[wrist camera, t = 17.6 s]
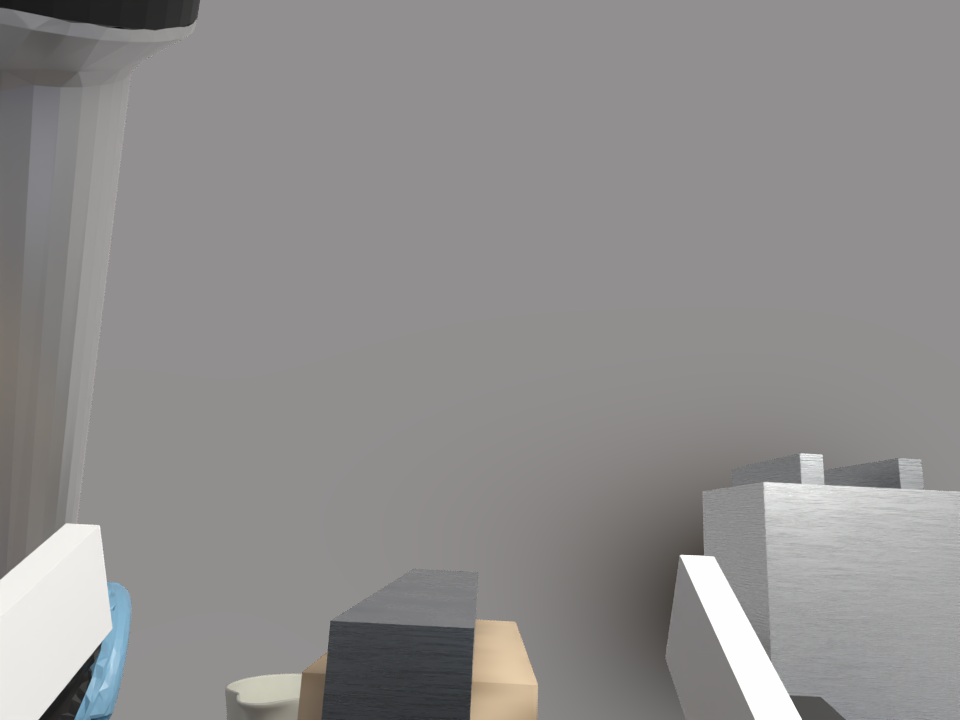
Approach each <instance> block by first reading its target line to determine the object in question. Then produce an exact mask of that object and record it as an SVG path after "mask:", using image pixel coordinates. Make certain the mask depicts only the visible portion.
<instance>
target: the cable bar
mask: <svg viewBox="0 0 960 720" xmlns="http://www.w3.org/2000/svg"><path fill="white" fill-rule="evenodd" d="M477 591H478V572H461V571H443V570H423V569H412V570H411V571H409V572H408V573H406V574H405V575H403V576H402V577H400V578H398V579H396V580H395V581H393V582H392V583H390V584H388V585H387V586H385V587H384V588H382V589H381V590H379V591H377V592H376V593H374V594H373V595H371V596H369V597H368V598H366V599H365V600H363V601H361V602H360V603H358V604H357V605H355V606H353V607H352V608H350V609H349V610H347V611H345V612H344V613H342V614H341V615H339V616H337V617H336V618H334V619H333V620H331V622H330V633H329V644H328V654H327V665H326V675H325V686H324V697H323V707H322V718H321V720H470V714H471V698H472V681H473V664H474V648H475V631H476V612H477Z"/></svg>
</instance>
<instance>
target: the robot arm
mask: <svg viewBox="0 0 960 720" xmlns="http://www.w3.org/2000/svg"><path fill="white" fill-rule="evenodd" d="M199 3H200V0H0V720H109V719H110V717H111V715H112V713H113V709H114V706H115V703H116V700H117V697H118V693H119V689H120V684H121V679H122V674H123V670H124V664H125V659H126V653H127V647H128V640H129V633H130V622H131V598H130V594H129V592H128V591H127V590H126V589H125V588H124V587H123V586H122V585H121V584H118V583H112V582H108V581H107V580H106V572H105V564H104V556H103V549H102V540H101V532H100V525H86V524H77V519H78V511H79V504H80V495H81V487H82V479H83V470H84V462H85V453H86V445H87V436H88V428H89V420H90V412H91V404H92V395H93V387H94V378H95V370H96V362H97V354H98V345H99V336H100V328H101V320H102V312H103V304H104V294H105V287H106V279H107V270H108V262H109V254H110V245H111V237H112V229H113V220H114V211H115V204H116V194H117V187H118V178H119V170H120V162H121V161H120V160H121V153H122V145H123V136H124V129H125V120H126V112H127V103H128V95H129V87H130V78H131V74H132V72H133V70H134V69H135V68H136V67H137V66H138V65H139V64H140V63H141V62H142V61H143V60H145V59H147V58H149V57H151V56H152V55H154V54H156V53H158V52H160V51H161V50H163V49H165V48H167V47H169V46H170V45H172V44H174V43H176V42H178V41H180V40H181V39H183V38H185V37H187V36H189V35H191V33H192V32H193V31H194V29H195V27H196V22H197V15H198V10H199ZM665 658H666V661H667V664H668V667H669V670H670V673H671V676H672V679H673V682H674V685H675V688H676V691H677V694H678V697H679V700H680V702H681V706H682V709H683V712H684V715H685V718H686V720H846V719H845V718H844V717H842V716H841V715H840V714H839V713H838V712H837V711H836V710H835V709H834V708H833V707H831V706H830V705H829V704H828V703H827V702H826V701H825V700H824V699H823V698H822V697H813V696H794V695H788V693H787V691H786V689H785V687H784V685H783V683H782V682H781V680H780V678H779V676H778V674H777V672H776V670H775V669H774V667H773V665H772V663H771V661H770V659H769V658H768V656H767V654H766V652H765V650H764V648H763V646H762V645H761V643H760V641H759V639H758V637H757V635H756V633H755V632H754V630H753V628H752V626H751V624H750V622H749V620H748V619H747V617H746V615H745V613H744V611H743V609H742V607H741V606H740V604H739V602H738V600H737V598H736V596H735V594H734V593H733V591H732V589H731V587H730V585H729V583H728V581H727V580H726V578H725V576H724V574H723V572H722V570H721V569H720V567H719V565H718V563H717V561H716V559H715V557H712V556H692V555H680V558H679V565H678V572H677V579H676V587H675V594H674V601H673V607H672V614H671V622H670V629H669V636H668V643H667V650H666V657H665Z"/></svg>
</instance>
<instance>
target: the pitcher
mask: <svg viewBox="0 0 960 720" xmlns="http://www.w3.org/2000/svg"><path fill="white" fill-rule="evenodd" d="M301 678H302V674H273V675H262V676H255V677H249V678H245V679H241V680H237V681H234V682H232V683H230V684H228V685H227V686H226V705H227V720H297V718H298V708H299V698H300V688H301Z"/></svg>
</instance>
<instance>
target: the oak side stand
mask: <svg viewBox="0 0 960 720" xmlns="http://www.w3.org/2000/svg"><path fill="white" fill-rule="evenodd" d="M327 654H328V652H327V653H325V654H324V655H323V656H322V657H320V658H319V659H318V660H317V661H316V662H314V663H313V664H312V665H311V666H309V667H308V668H307V669H306V670H304V671H303V672H302V678H301V688H300V698H299V708H298V718H297V720H321V718H322V707H323V697H324V686H325V675H326V665H327ZM537 703H538V684H537V681H536V678H535V675H534V673H533V670H532V667H531V664H530V661H529V659H528V656H527V653H526V650H525V647H524V644H523V642H522V639H521V636H520V633H519V630H518V627H517V625H516V622H510V621H491V620H489V621H488V620H476V631H475V648H474V664H473V681H472V698H471V714H470V720H537Z"/></svg>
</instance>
